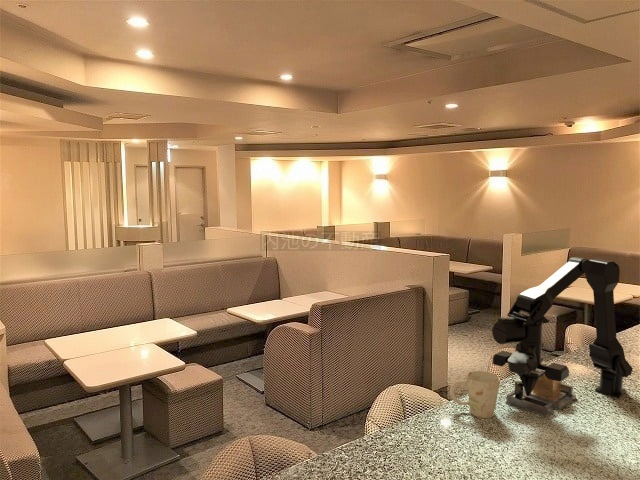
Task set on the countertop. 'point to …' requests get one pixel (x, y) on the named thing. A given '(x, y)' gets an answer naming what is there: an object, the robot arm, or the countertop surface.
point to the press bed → (557, 397)
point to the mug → (479, 393)
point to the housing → (547, 387)
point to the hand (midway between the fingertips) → (528, 395)
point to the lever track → (530, 404)
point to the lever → (518, 390)
